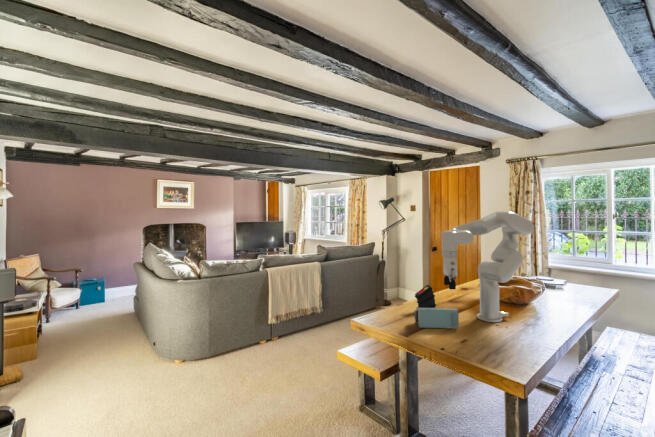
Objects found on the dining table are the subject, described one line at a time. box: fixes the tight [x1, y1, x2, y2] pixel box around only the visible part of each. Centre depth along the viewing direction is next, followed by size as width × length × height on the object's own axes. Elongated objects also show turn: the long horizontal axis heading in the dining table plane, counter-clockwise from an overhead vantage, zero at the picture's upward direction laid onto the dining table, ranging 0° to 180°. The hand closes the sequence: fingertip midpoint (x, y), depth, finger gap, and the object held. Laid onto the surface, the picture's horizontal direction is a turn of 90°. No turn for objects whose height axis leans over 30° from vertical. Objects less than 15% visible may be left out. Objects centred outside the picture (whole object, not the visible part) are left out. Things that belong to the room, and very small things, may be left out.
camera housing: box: [413, 307, 444, 325], centre depth 161 cm, size 15×7×8 cm, turn 85°
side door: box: [417, 308, 460, 329], centre depth 156 cm, size 20×2×10 cm, turn 85°
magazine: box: [414, 284, 437, 308], centre depth 183 cm, size 4×13×15 cm, turn 113°
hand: (449, 286), depth 161 cm, fingers open, 8 cm apart
